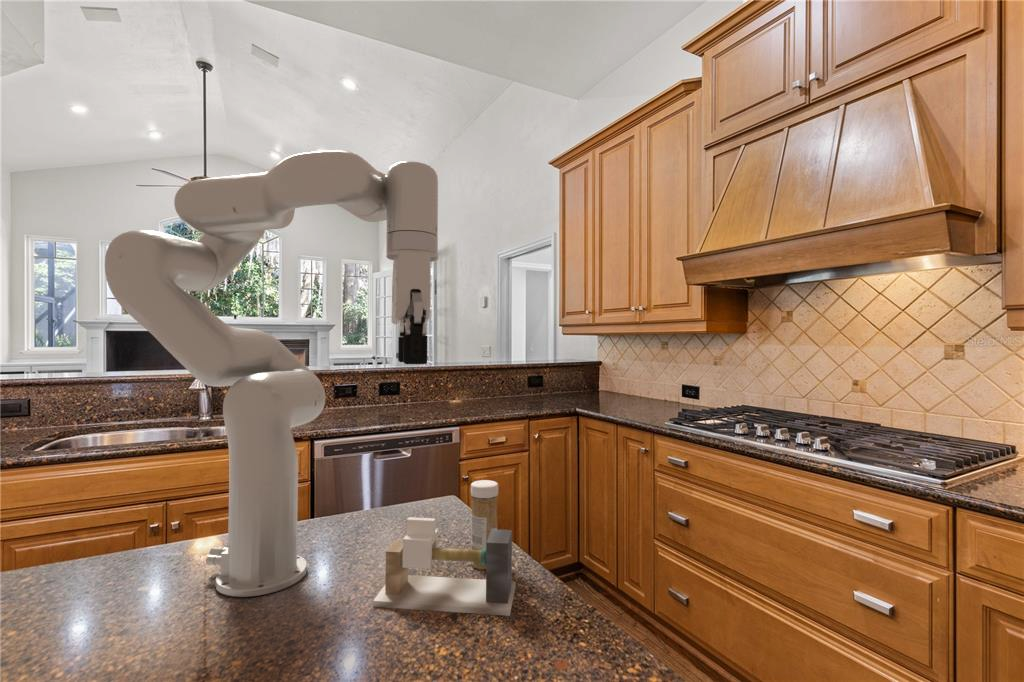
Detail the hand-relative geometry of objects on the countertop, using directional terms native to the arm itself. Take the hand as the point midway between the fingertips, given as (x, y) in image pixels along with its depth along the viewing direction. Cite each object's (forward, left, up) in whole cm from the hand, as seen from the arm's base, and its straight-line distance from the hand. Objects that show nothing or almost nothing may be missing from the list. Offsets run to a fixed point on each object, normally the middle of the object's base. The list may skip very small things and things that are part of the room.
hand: (411, 363), depth 73 cm
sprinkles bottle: (+10, +9, -34) cm, 36 cm away
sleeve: (+2, -2, -29) cm, 29 cm away
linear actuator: (+6, -2, -33) cm, 34 cm away
